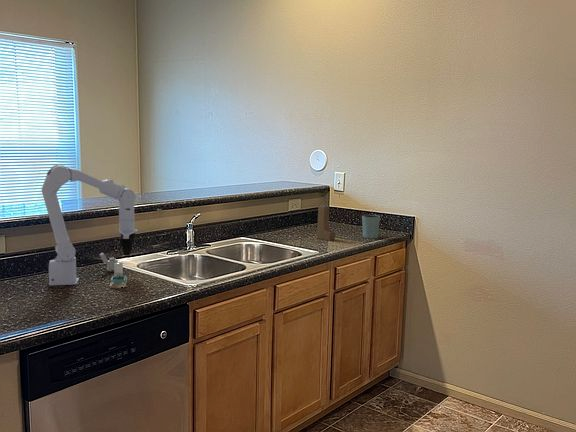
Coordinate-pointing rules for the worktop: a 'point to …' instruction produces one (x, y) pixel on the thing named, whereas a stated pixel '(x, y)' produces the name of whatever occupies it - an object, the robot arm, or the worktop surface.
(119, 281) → the pin board
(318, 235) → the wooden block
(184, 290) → the worktop surface
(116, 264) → the pin
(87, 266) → the worktop surface
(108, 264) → the grey lever block
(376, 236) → the drinking glass
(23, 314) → the worktop surface
